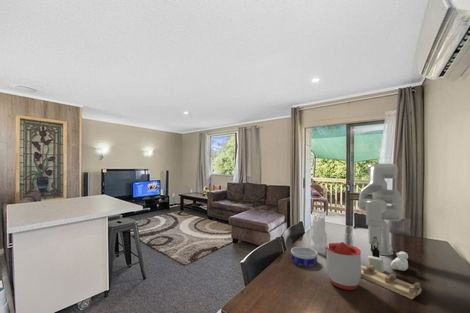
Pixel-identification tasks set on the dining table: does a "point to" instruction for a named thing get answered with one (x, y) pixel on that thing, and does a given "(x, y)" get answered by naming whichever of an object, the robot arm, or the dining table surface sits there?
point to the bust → (400, 261)
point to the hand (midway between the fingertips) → (375, 254)
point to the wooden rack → (390, 282)
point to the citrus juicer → (343, 265)
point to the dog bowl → (304, 256)
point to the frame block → (376, 263)
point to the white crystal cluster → (319, 234)
